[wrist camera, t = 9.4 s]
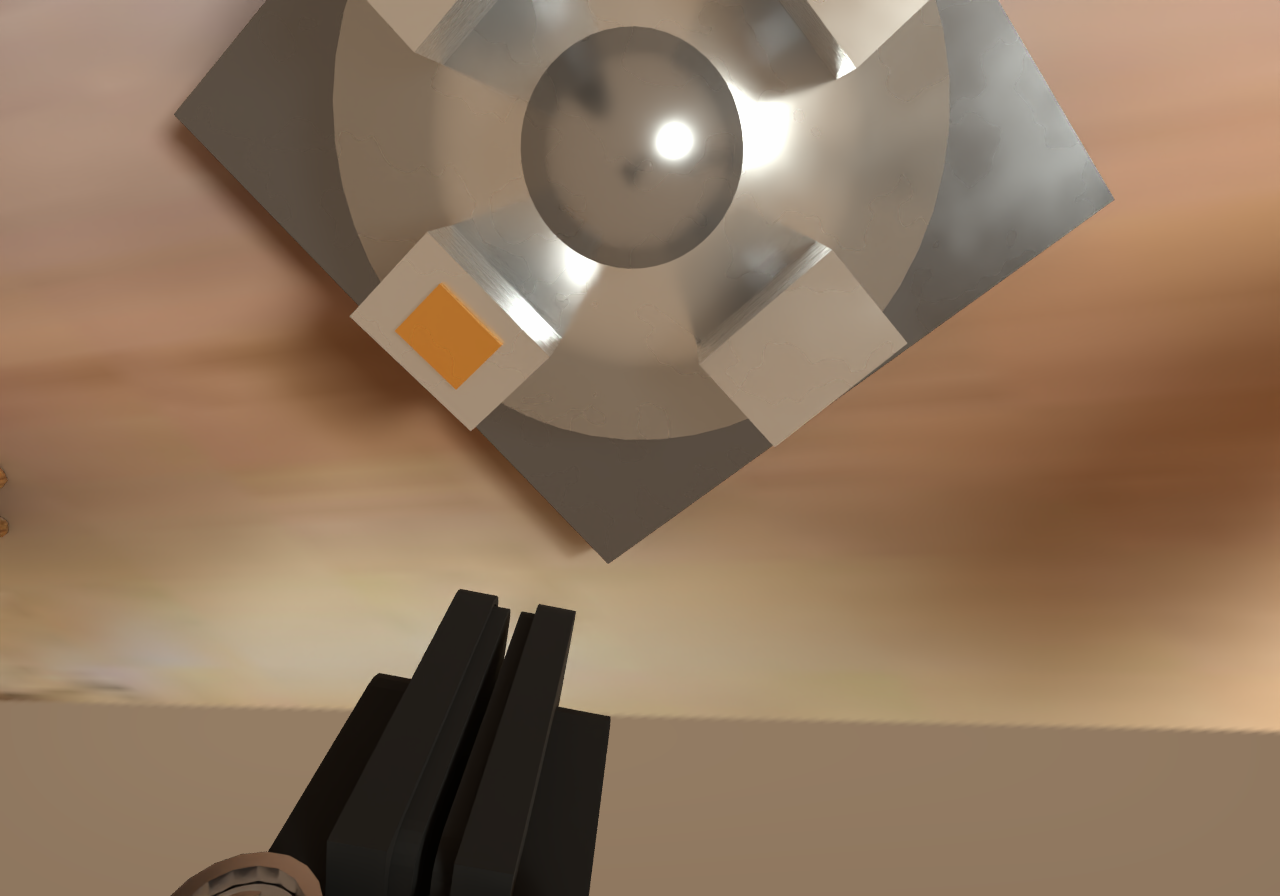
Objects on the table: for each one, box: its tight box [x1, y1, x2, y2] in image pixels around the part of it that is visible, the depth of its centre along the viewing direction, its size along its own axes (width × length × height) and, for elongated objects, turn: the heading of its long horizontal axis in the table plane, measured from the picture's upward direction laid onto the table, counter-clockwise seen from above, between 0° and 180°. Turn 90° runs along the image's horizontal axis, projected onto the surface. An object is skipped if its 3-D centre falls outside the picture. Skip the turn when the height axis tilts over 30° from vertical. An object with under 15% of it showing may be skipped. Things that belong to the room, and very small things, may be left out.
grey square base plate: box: [174, 0, 1114, 564], centre depth 24 cm, size 22×22×2 cm
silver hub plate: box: [333, 0, 949, 447], centre depth 21 cm, size 18×18×5 cm
